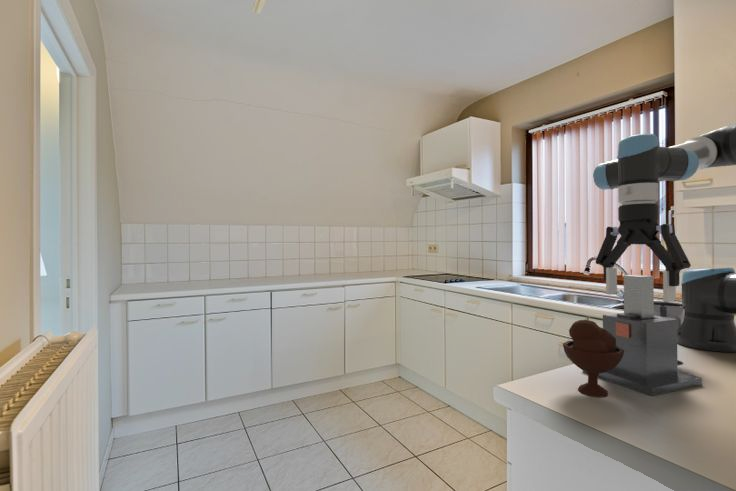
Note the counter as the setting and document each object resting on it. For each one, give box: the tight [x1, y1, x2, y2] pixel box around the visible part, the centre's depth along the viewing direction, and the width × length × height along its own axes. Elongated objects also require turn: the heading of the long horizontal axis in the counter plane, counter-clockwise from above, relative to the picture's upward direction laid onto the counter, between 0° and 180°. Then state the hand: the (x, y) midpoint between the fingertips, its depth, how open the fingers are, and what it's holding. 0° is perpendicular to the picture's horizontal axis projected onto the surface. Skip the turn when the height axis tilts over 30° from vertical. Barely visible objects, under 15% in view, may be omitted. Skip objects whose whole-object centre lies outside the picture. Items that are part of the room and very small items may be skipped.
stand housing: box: [582, 312, 703, 397], centre depth 87 cm, size 16×16×15 cm
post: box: [623, 274, 655, 320], centre depth 87 cm, size 4×4×21 cm
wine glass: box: [654, 300, 685, 366], centre depth 99 cm, size 8×8×15 cm
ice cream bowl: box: [562, 319, 624, 398], centre depth 79 cm, size 11×11×15 cm
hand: (638, 297), depth 87 cm, fingers open, 12 cm apart
